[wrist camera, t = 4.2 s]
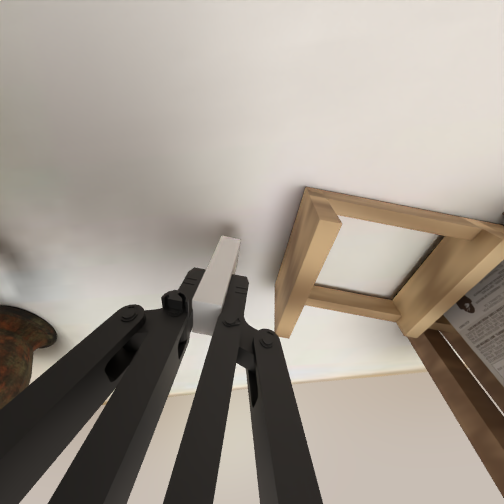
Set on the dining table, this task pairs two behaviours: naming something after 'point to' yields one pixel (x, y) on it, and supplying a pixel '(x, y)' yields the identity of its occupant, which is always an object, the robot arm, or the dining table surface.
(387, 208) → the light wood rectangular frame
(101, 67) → the dining table surface
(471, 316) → the coffee box
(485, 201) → the dining table surface
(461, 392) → the brown open upright frame
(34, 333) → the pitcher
